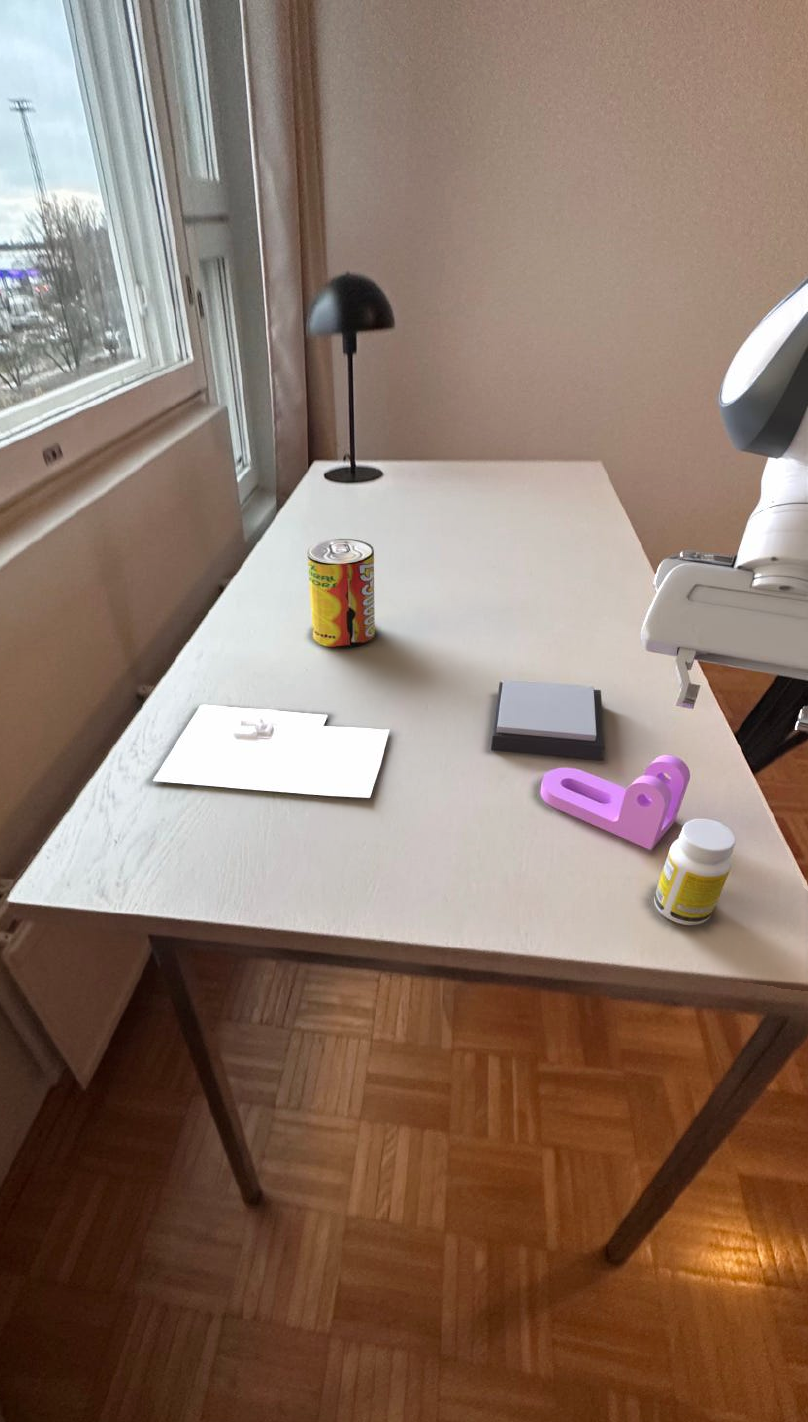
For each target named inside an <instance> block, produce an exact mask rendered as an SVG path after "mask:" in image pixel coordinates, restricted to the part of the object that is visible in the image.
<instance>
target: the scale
mask: <svg viewBox="0 0 808 1422" xmlns="http://www.w3.org/2000/svg"><path fill="white" fill-rule="evenodd" d="M603 714H604V713H603V700H602V690H601V689H595V687H594V685H593V686H592V685H579V684H567V683H566V684H565V683H555V682H554V683H553V682H541V681H540V682H539V681H527V680H514V679H502V682H499V684H498V692H497V698H496V707H495V715H494V722H493V730H492V736H491V746H490V751H494V752H504V753H505V752H506V753H515V754H526V755H538V756H548V757H558V758H568V759H569V758H570V759H577V760H579V759H580V760H589V761H602V760H603V756H604V752H605V747H606V745H605V728H604V716H603Z"/></svg>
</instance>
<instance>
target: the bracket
mask: <svg viewBox="0 0 808 1422" xmlns="http://www.w3.org/2000/svg"><path fill="white" fill-rule="evenodd" d="M665 774H667V775H668V776H669V777H670V778H669V777H667V776H666V775H665ZM690 779H691V772H690V768H689V767H688V765H687V764H686V762H685V761H684V760H682V759H681V758H679V757H677V756H675V755H672V754H662V755H659V756H658V757H656V758H654V760H653V761H652V762H651V763H650V764H649V765H648V766H647V767H646V769H645V771H644V775H642V776H638V777H637V778H636V779H635V780H634V781H633V782H632V783H631V784H630V785H629V786H628V787H627V788H625V787H623V786H620V785H619V784H615V783H614V782H612V781H609V780H606V779H603V778H601V777H599V776H596V775H594V774H591V773H588V772H587V771H584V770H581V769H578V768H575V767H574V768H573V767H559V768H554V769H551V770H549V771H547V772H546V773H545V774H544V775H543V777H542V780H541V785H540V791H539V792H540V797H541V799H542V800H543V801H544V802H545V803H546V804H548V805H549V806H550V807H552V808H555V809H557V810H558V811H561V812H564V813H565V814H568V815H570V816H573V817H574V818H576V819H579V820H581V821H584V822H586V823H588V824H591V825H593V826H595V827H597V828H598V829H599V828H600V829H602V830H604V831H607V833H608V832H609V833H611V834H613V835H615V836H617V837H620V838H622V839H624V840H626V841H628V842H631V843H633V844H635V845H637V846H639V847H642V848H644V849H647V850H649V851H652V850H653V849H654V847H656V845H657V844H658V843H659V841H661V839H662V838H663V836H665V834H666V833H667V832H668V830H670V828H671V827H672V826H673V824H674V823H675V822H676V821H677V817H678V814H679V812H680V808H681V805H682V802H683V800H684V797H685V793H686V791H687V788H688V785H689V783H690Z"/></svg>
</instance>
